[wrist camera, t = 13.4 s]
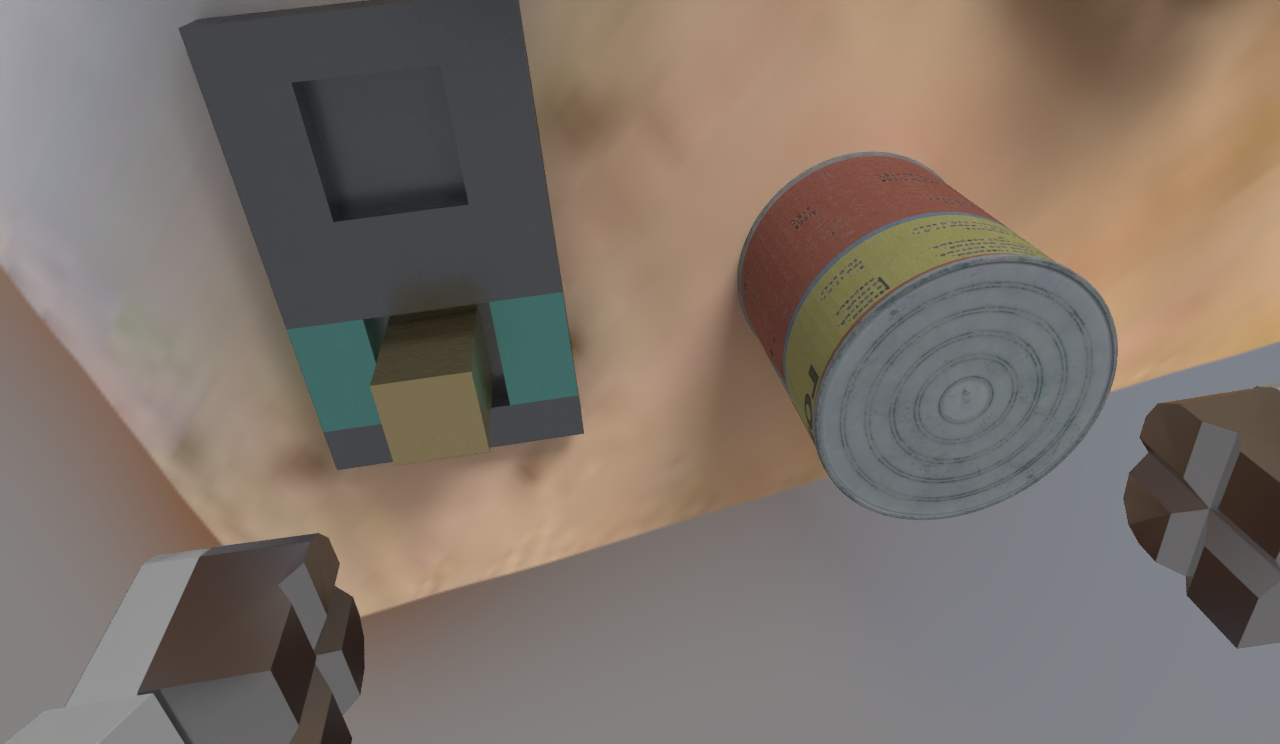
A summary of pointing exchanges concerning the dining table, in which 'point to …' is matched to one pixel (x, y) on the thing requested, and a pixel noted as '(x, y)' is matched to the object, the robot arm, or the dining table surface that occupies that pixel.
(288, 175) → the peg hole board
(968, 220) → the canned food
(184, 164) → the dining table surface
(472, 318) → the brass peg
